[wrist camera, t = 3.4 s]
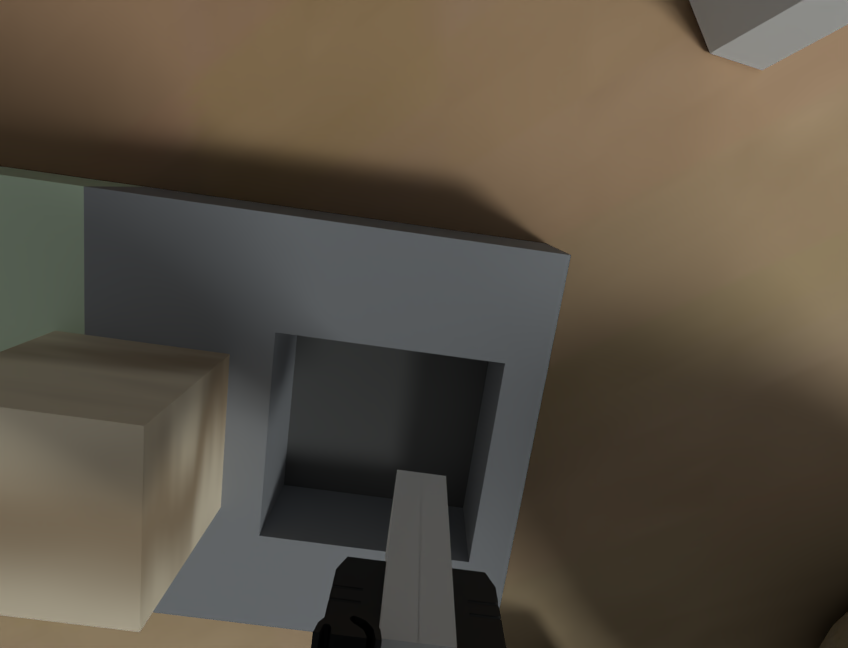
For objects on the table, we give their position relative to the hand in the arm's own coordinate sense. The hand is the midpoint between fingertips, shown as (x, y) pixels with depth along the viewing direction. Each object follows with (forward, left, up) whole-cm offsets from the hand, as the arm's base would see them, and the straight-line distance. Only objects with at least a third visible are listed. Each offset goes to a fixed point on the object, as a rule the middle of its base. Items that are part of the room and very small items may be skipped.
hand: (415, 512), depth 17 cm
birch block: (0, -10, -3) cm, 11 cm away
